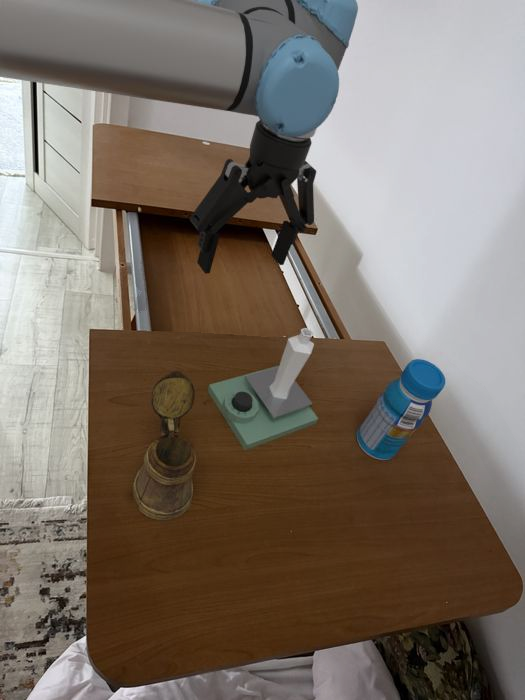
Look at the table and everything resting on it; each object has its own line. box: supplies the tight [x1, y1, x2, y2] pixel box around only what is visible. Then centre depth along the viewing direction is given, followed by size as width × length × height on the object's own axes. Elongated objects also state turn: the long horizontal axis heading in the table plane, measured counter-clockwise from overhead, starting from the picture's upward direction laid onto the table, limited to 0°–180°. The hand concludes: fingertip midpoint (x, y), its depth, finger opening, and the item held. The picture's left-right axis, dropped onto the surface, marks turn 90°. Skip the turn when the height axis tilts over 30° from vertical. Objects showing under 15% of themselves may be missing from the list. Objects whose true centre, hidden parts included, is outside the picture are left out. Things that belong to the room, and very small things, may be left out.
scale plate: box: [245, 367, 314, 419], centre depth 93 cm, size 9×10×1 cm
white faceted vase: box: [270, 327, 315, 399], centre depth 87 cm, size 5×4×15 cm
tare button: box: [233, 392, 253, 412], centre depth 88 cm, size 3×3×2 cm
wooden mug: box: [131, 369, 196, 521], centre depth 72 cm, size 9×14×18 cm, turn 13°
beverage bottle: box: [356, 358, 446, 461], centre depth 89 cm, size 8×8×20 cm
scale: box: [206, 365, 319, 451], centre depth 92 cm, size 17×14×4 cm
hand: (242, 263), depth 78 cm, fingers open, 13 cm apart
